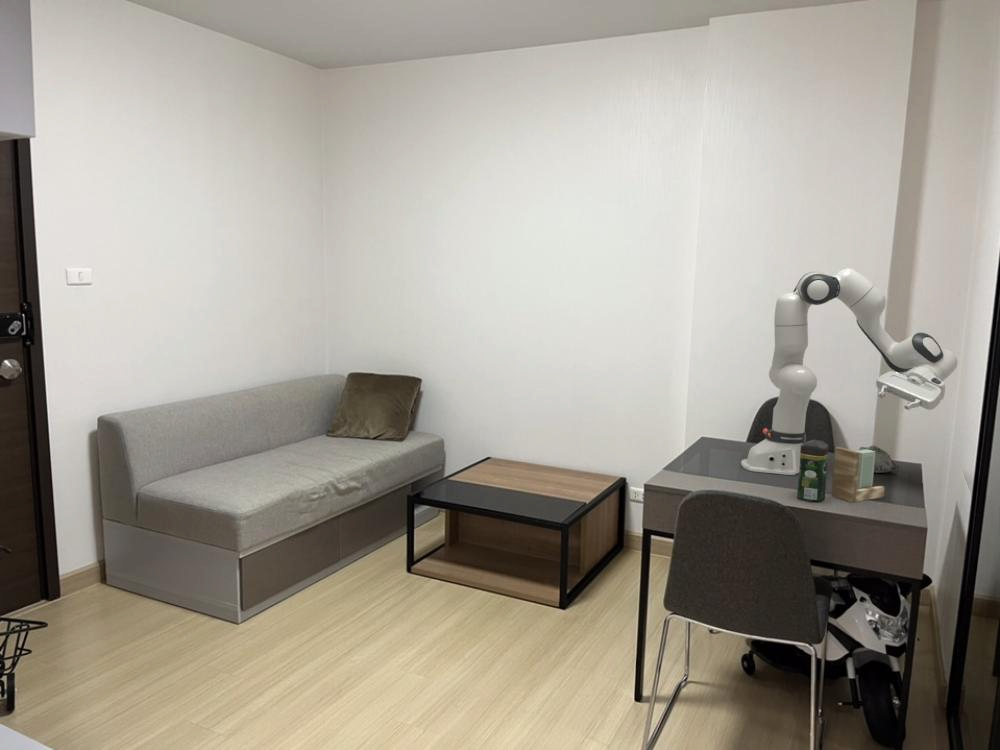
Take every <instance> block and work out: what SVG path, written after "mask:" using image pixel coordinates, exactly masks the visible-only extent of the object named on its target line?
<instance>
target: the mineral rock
mask: <svg viewBox="0 0 1000 750" xmlns="http://www.w3.org/2000/svg"><path fill="white" fill-rule="evenodd" d="M867 449H868V450H872V451H875V463H874V473H878V474H879V473H880V474H882V473H890V472H893V471H899V470H900V467H899V466H898V465H899V464H900V463H899V462H898V461H896V460H893V459H892V458H891V455H890V454H889V453H888V452H887V451H886V450H883V449H882V448H880V447H878V446H877V445H875V444H874V445H870V446H869V447H865V446H860V447H859V449H858V451H859V450H867Z"/></svg>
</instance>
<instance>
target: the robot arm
mask: <svg viewBox="0 0 1000 750" xmlns="http://www.w3.org/2000/svg"><path fill="white" fill-rule="evenodd" d="M833 299H838V300H840V301H841V302H842V303H843V304H844V305H845V306H846V307H847V308H848V309H850V311H851V312H852V313H853V314H854V316H855V318H856V324H857V326H858V327H859V329H860V330H861V331H862V332H863V334H864V335H865V336H866V338H867V339H868V340H869V341H870V343H872V345H873V346H874V347H875V348H876V350H877V351H878V352H879V353H880V355H881V356H882V358H883V359H884V362H885V363H886V365H887V366H888V367H889V368H890V369H891V370H892V371H891V370H889V371H887V372H885V373H883V374H881V375H880V376H878V377H877V378H876V381H875V385H876V388H877V389H878V390H881V391H879V392H878V394H877V397H878V398H880V399H882V400H883V399H884V398H885V397H886V393H888V394H891V395H893V396H895V397H898V398H899V399H902V400H904V401H907V402H906V403H905V404H904V409H905V410H908V411H910V410H911V409H915V408H919V407H922V408H923V409H925V410H930V411H931V410H934V409H935V408H936V407H938V406H939V404H940V403H941V401H942V400H944V398H945V394H946V393H945V392H946V386H945V385H946V384H945V382H943V381H945V380H946V379H948V378H949V377H950V376H951V375H952V373H954V372H955V370H956V369H957V368H958V367H957V366H958V358H957V356H956V354H955V353H954V352H953V351H951V350H950V349H948V348H944V347H942V346H941V345H939V342H938V341H937V340H936V339H935V338H934V337H933V336H931V335H930V334H928V333H925V332H917V333H915V334H912V335H911V336H908V337H907V338H906V339H904V340H902V341H900V342H897V341H895V340H894V339H893V338H892V337H891V336H890V335H889V333H888V332H887V331H886V330H885V328H884V327H883V326H882V324H881V322H880V319H881V316H882V314H883V312H884V310H885V308H886V296H885V294H884V293H883V292H882V290H881V289H880V288H879V287H877V285H875V284H874V283H873V281H871V280H870V279H869V278H867V277H866V276H864V275H863V274H862V273H860V272H858V271H857V270H856V269H853V268H850V267H847V268H843V269H841V270H840V271H838V272H837V273H836V274H834V275H828V274H825V273H824V272H821V271H810V272H808V273H806V274H804V275H803V276H802V277H801V278H799V280H798V282H797V284H796V286H795V288H794V289H793V291H792V292H787V293H783V294H781V295H780V296H778V298H777V299H776V304H775V309H774V321H773V322H774V323H773V324H774V326H773V327H774V349H773V356H772V362H771V366H770V368H769V371H768V376H769V380H770V382H771V383H772V384H773V386H775V387H776V388H777V389H779V396H778V397H777V398H778V399H777V402H776V404H775V406H774V407H773V412H772V423H771V424H772V425H771V428H770V429H768V428H767V427H765V428H763V430H762V433H763V434H764V435H765V438H764V439H762V440H761V441H760V442H758V443H756V444H754V445H753V446H752V447H750V449H749V450H748V451H749V452H748V455H747V458H745V459H742V460H741V462H740V466H741V467H742V468H743V469H745V470H747V471H750V472H755V473H767V474H777V475H786V476H795V475H797V474H799V468H800V450H801V445H802V444H803V443H805V442H806V437H807V435H806V432H805V429H806V428H805V427H806V419H807V418H806V417H807V410H808V406H809V402H810V399H811V396H812V393H814V391H815V390H816V389H817V385H818V379H817V376H816V374H815V373H814V372H813V371H812V370H811V369H810V368H809V367H807V366H806V365H804V358H805V353H806V351H807V350H806V349H807V348H808V345H809V329H808V327H809V326H808V324H809V323H808V314H809V310H810V307H811V306H820V305H823V304H826V303H827V302H830V301H831V300H833ZM904 373H906V374H904Z"/></svg>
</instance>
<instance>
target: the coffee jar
mask: <svg viewBox="0 0 1000 750" xmlns="http://www.w3.org/2000/svg"><path fill="white" fill-rule="evenodd" d="M828 460H829V444H828V443H826V442H825V441H823V440H818V439H810V440H808V441H805V443H803V444H802V445H801V450H800V468H799V473H798V482H797V491H796V492H797V493H796V496H797V498H799V499H801V500H804V501H807V502H820V501H822V500H823V499H824V498H825V497H826V489H827V487H826V486H827V485H826V484H827V471H828V470H827V469H828Z"/></svg>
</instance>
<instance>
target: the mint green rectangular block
mask: <svg viewBox="0 0 1000 750" xmlns="http://www.w3.org/2000/svg"><path fill="white" fill-rule="evenodd" d="M855 451H856V452H860V457H859V468H858V479H857V490H858V489H864V488H870V487H873V485H874V484H873V483H874V473H875V472H874V463H875V451H872V450H868V449H867V450H859V449H858V450H855Z"/></svg>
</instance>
